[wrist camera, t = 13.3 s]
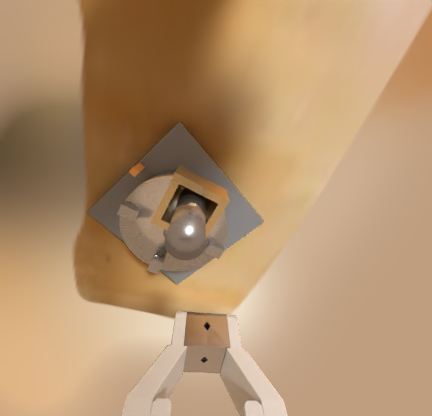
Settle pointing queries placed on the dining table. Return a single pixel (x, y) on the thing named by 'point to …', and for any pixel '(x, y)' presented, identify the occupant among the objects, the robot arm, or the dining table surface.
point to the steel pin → (187, 227)
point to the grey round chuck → (162, 214)
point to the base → (169, 161)
